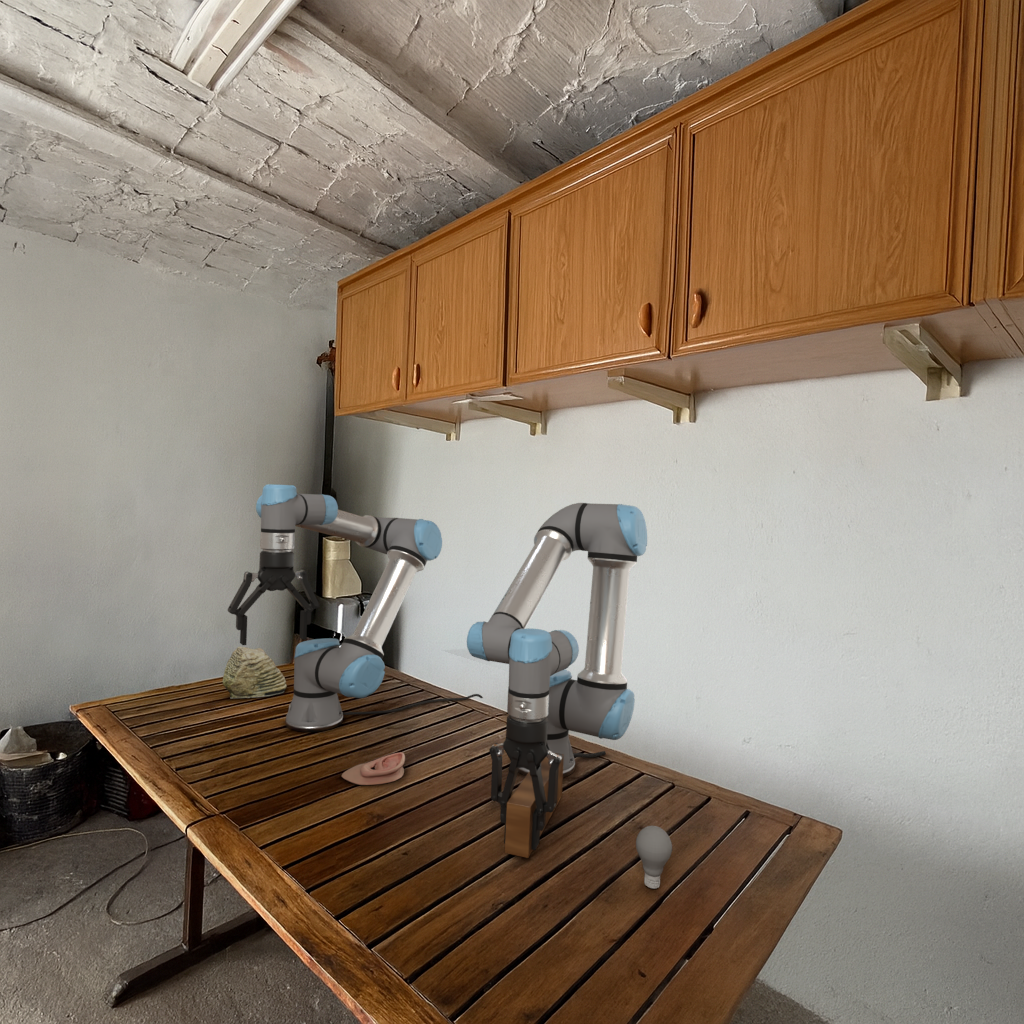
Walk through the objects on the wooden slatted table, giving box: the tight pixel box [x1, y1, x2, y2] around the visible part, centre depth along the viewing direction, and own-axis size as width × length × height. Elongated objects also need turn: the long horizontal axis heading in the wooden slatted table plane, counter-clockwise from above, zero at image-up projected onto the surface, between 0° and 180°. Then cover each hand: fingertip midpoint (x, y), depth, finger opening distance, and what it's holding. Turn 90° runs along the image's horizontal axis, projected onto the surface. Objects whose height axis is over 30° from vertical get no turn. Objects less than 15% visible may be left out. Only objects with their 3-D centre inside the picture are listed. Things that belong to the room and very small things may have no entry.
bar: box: [504, 753, 564, 859], centre depth 124 cm, size 25×4×9 cm, turn 162°
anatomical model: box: [341, 751, 406, 786], centre depth 145 cm, size 13×4×12 cm
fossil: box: [222, 646, 288, 699], centre depth 198 cm, size 9×18×15 cm, turn 132°
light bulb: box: [635, 825, 673, 889], centre depth 107 cm, size 6×6×10 cm
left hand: (273, 641), depth 148 cm, fingers open, 13 cm apart
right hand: (521, 842), depth 115 cm, fingers closed on bar, 4 cm apart
